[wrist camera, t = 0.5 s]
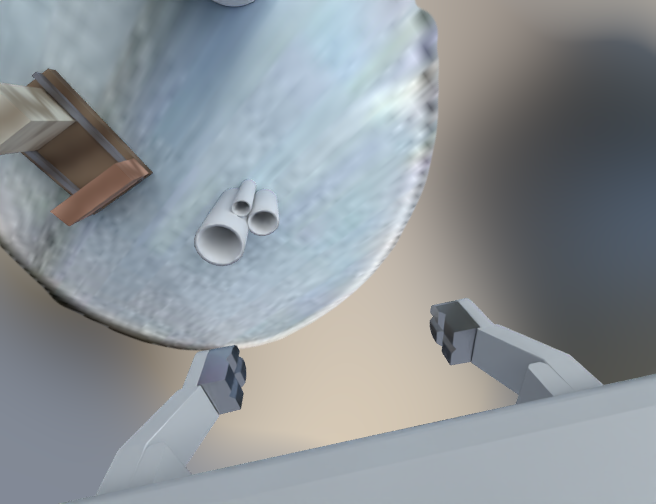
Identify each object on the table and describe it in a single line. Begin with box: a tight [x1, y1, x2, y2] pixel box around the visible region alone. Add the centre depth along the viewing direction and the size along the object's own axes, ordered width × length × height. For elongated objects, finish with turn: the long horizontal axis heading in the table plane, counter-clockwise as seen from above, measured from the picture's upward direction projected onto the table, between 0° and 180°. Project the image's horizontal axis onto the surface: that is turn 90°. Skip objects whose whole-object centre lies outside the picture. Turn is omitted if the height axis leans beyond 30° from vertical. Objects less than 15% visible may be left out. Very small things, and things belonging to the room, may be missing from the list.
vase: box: [194, 179, 279, 266], centre depth 45 cm, size 11×7×20 cm, turn 108°
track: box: [21, 69, 153, 226], centre depth 42 cm, size 18×13×8 cm
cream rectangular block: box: [0, 83, 76, 155], centre depth 37 cm, size 5×8×9 cm, turn 122°
